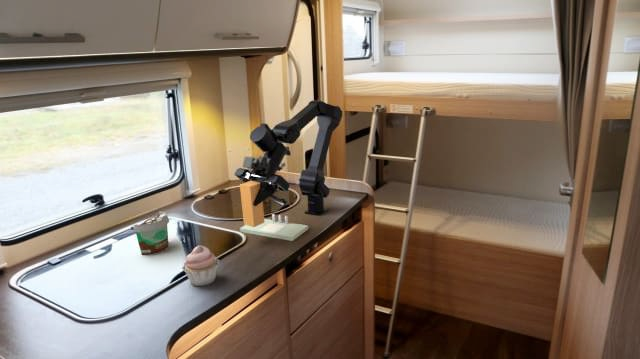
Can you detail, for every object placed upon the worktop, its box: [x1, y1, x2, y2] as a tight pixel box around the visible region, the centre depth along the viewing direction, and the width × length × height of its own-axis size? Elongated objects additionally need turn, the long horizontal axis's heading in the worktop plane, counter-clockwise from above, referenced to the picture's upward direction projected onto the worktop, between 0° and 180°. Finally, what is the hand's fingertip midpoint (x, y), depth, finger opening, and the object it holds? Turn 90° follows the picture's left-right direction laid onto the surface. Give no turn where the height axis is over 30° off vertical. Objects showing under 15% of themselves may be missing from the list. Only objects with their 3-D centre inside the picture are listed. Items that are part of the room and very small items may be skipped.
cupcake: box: [181, 245, 220, 287], centre depth 116 cm, size 9×9×10 cm
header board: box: [239, 213, 309, 242], centre depth 147 cm, size 10×20×4 cm, turn 62°
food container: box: [133, 211, 170, 256], centre depth 137 cm, size 12×6×10 cm, turn 161°
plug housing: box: [239, 181, 265, 227], centre depth 136 cm, size 4×4×13 cm
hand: (248, 204), depth 135 cm, fingers closed on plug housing, 4 cm apart
